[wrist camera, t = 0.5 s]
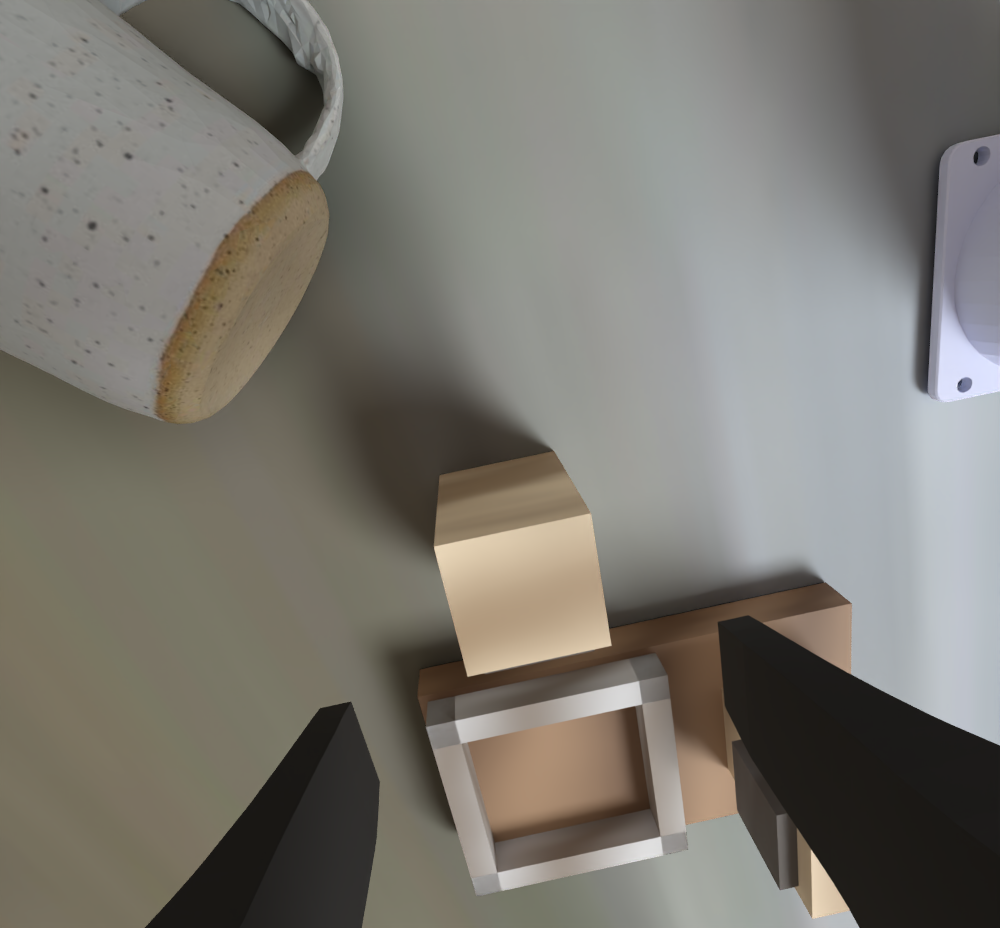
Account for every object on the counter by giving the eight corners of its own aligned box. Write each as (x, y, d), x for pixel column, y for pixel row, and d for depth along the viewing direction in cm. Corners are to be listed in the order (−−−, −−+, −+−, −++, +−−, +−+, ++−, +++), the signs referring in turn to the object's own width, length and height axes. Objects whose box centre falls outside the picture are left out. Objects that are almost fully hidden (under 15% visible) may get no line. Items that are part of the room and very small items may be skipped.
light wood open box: (825, 582, 22) (990, 715, 15) (826, 759, 24) (966, 937, 18) (419, 669, 21) (404, 844, 15) (469, 837, 24) (474, 1047, 18)
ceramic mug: (255, 412, 18) (121, 495, 11) (-13, 264, 16) (-400, 241, 9) (424, 99, 16) (404, -68, 8) (139, -114, 14) (-207, -569, 7)
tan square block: (439, 474, 19) (434, 546, 14) (553, 450, 19) (590, 513, 14) (467, 590, 21) (472, 694, 15) (573, 567, 21) (614, 663, 15)
